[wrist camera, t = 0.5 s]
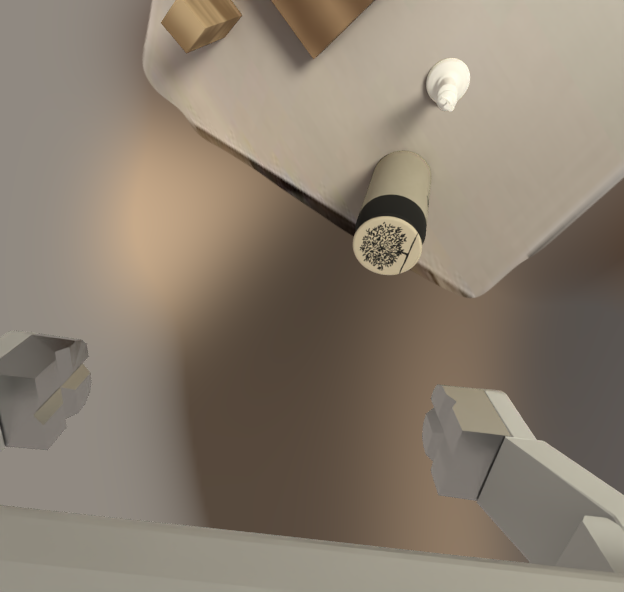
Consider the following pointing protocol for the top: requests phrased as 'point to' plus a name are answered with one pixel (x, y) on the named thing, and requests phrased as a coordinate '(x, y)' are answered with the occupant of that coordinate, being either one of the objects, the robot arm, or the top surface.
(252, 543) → the robot arm
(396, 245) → the travel mug
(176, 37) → the pin
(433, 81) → the chess piece
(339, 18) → the socket block
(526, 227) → the top surface
